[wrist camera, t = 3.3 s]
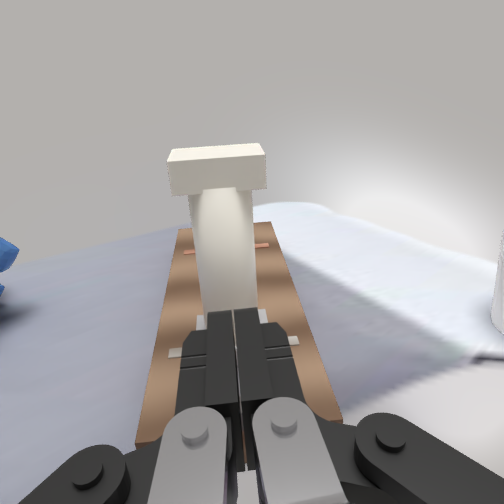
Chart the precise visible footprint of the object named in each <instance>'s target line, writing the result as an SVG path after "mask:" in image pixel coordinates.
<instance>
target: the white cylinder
mask: <svg viewBox="0 0 504 504" xmlns="http://www.w3.org/2000/svg"><path fill="white" fill-rule="evenodd" d="M491 319H492V324H493V325H494V326H495V327H496V328H497V329H498V330H499V331H500V332H501V333H502V334H503V335H504V230H503V233H502V240H501V247H500V254H499V261H498V268H497V274H496V281H495V288H494V295H493V302H492V309H491Z"/></svg>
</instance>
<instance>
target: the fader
mask: <svg viewBox="0 0 504 504" xmlns="http://www.w3.org/2000/svg"><path fill="white" fill-rule="evenodd" d="M167 167H168V174H169V181H170V187H171V194H172V196H183V195H188V201H189V208H190V215H191V223H192V231H193V239H194V246H195V254H196V261H197V269H198V276H199V284H200V292H201V299H202V307H203V314H204V315H197V324H196V330H204V329H207V313H208V312H214V311H224V310H232V319H233V329H234V339H235V349H236V359H237V366H238V358H237V346H236V334H235V321H234V309H243V308H253V307H257V308H258V299H257V280H256V262H255V243H254V225H253V207H252V190H259V189H266V160H265V153H264V151H263V150H262V148H261V146H260V144H259V143H252V144H251V143H250V144H236V145H222V146H208V147H194V148H180V149H172V151H171V153H170V156H169V158H168V160H167ZM258 314H259V319H260V324H261V323H268V320H267V315H266V310H265V309H258Z"/></svg>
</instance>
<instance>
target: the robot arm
mask: <svg viewBox="0 0 504 504" xmlns="http://www.w3.org/2000/svg"><path fill="white" fill-rule="evenodd" d="M234 321H235V334H236V346H237V358H238V371H239V383H240V395H241V406H242V416H243V426H244V436H245V446H246V456H247V466H248V471H249V470H256V476H257V485H258V494H259V504H504V478H502V477H500V476H498V475H497V474H495V473H494V472H492V471H490V470H489V469H487V468H485V467H484V466H482V465H480V464H479V463H477V462H475V461H474V460H472V459H470V458H469V457H467V456H466V455H464V454H462V453H460V452H459V451H457V450H455V449H454V448H452V447H451V446H449V445H447V444H446V443H444V442H442V441H441V440H439V439H437V438H436V437H434V436H432V435H431V434H429V433H427V432H426V431H424V430H422V429H421V428H419V427H418V426H416V425H414V424H413V423H411V422H409V421H408V420H406V419H404V418H402V417H399V416H397V415H393V414H390V413H374V414H371V415H368V416H366V417H364V418H363V419H362V420H361V421H360V422H359V423H358V425H357V427H356V426H351V425H345V424H340V423H335V422H331V421H328V420H326V419H324V418H322V417H320V416H318V415H317V414H316V413H314V412H313V411H312V410H311V409H310V407H309V406H308V405H307V403H306V401H305V398H304V395H303V391H302V388H301V384H300V380H299V377H298V373H297V369H296V366H295V362H294V358H293V355H292V351H291V347H290V344H289V340H288V337H287V333H286V331H285V330H284V329H283V328H282V327H281V326H280V325H279V324H278V323H277V322H271V323H261V324H260V319H259V314H258V308H257V307H253V308H243V309H234ZM238 371H237V359H236V349H235V339H234V329H233V319H232V310H224V311H214V312H208V313H207V329H204V330H195V331H191V332H190V333H189V335H188V336H187V338H186V339H185V340H184V342H183V345H182V353H181V362H180V371H179V379H178V388H177V397H176V406H175V414H174V417H173V418H172V419H171V420H170V421H169V423H168V424H167V425H166V427H165V429H164V432H163V435H162V436H160V437H159V438H158V439H157V440H155V441H154V442H152V443H151V444H148V445H146V446H144V447H142V448H140V449H137V450H135V451H132V452H130V453H127V454H125V455H123V454H122V453H121V451H119V450H118V449H117V448H115V447H113V446H110V445H95V446H91V447H88V448H85V449H83V450H81V451H79V452H78V453H76V454H74V455H73V456H72V457H70V458H69V459H68V460H67V461H66V462H65V463H63V464H62V465H61V466H60V467H59V468H58V469H57V470H56V471H54V472H53V473H52V474H51V475H50V476H49V477H48V478H46V479H45V480H44V481H43V482H42V483H41V484H40V485H39V486H37V487H36V488H35V489H34V490H33V491H32V492H31V493H30V494H28V495H27V496H26V497H25V498H24V499H23V500H22V501H21V502H19V503H18V504H237V503H236V502H237V497H238V486H237V472H243V471H245V462H244V449H243V436H242V423H241V410H240V397H239V384H238Z"/></svg>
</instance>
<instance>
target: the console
mask: <svg viewBox="0 0 504 504" xmlns="http://www.w3.org/2000/svg"><path fill="white" fill-rule="evenodd" d="M253 225H254V243H255V262H256V280H257V299H258V309H265V310H266V315H267V320H268V323H271V322H277V323H278V324H279V325H280V326H281V327H282V328H283V329H284V330H285V331H286V333H287V337H288V340H289V344H290V347H291V351H292V355H293V358H294V362H295V366H296V369H297V373H298V377H299V380H300V384H301V388H302V391H303V395H304V398H305V401H306V403H307V405H308V406H309V407H310V409H311V410H312V411H313V412H314V413H316V414H317V415H318V416H320V417H322V418H324V419H326V420H328V421H331V422H335V423H340V424H343V418H342V415H341V412H340V409H339V407H338V404H337V401H336V398H335V396H334V393H333V390H332V388H331V385H330V382H329V379H328V377H327V374H326V371H325V368H324V366H323V363H322V360H321V358H320V355H319V352H318V349H317V347H316V344H315V341H314V338H313V336H312V333H311V330H310V328H309V325H308V322H307V319H306V317H305V314H304V311H303V308H302V306H301V303H300V300H299V298H298V295H297V292H296V289H295V287H294V284H293V281H292V278H291V276H290V273H289V270H288V268H287V265H286V262H285V259H284V257H283V254H282V251H281V248H280V246H279V243H278V240H277V238H276V235H275V232H274V229H273V227H272V224H271V222H259V223H253ZM197 315H204V314H203V307H202V299H201V292H200V284H199V276H198V269H197V261H196V254H195V246H194V239H193V231H192V228H187V229H179V230H178V235H177V240H176V245H175V249H174V254H173V259H172V264H171V269H170V274H169V279H168V284H167V288H166V293H165V298H164V303H163V308H162V313H161V318H160V323H159V327H158V332H157V337H156V342H155V347H154V352H153V357H152V362H151V367H150V371H149V376H148V381H147V386H146V391H145V396H144V401H143V406H142V410H141V415H140V420H139V425H138V430H137V435H136V440H135V446H136V449H140V448H142V447H144V446H146V445H148V444H151V443H152V442H154V441H155V440H157V439H158V438H159V437H160V436H162V435H163V432H164V429H165V427H166V425H167V424H168V423H169V421H170V420H171V419H172V418H173V417H174V414H175V406H176V397H177V388H178V379H179V371H180V362H181V353H182V345H183V342H184V340H185V339H186V338H187V336H188V335H189V333H190V332H191V331H195V330H196V324H197ZM237 371H238V366H237ZM238 384H239V397H240V410H241V423H242V436H243V449H244V462H245V463H247V456H246V446H245V436H244V426H243V416H242V406H241V395H240V383H239V371H238Z"/></svg>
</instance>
